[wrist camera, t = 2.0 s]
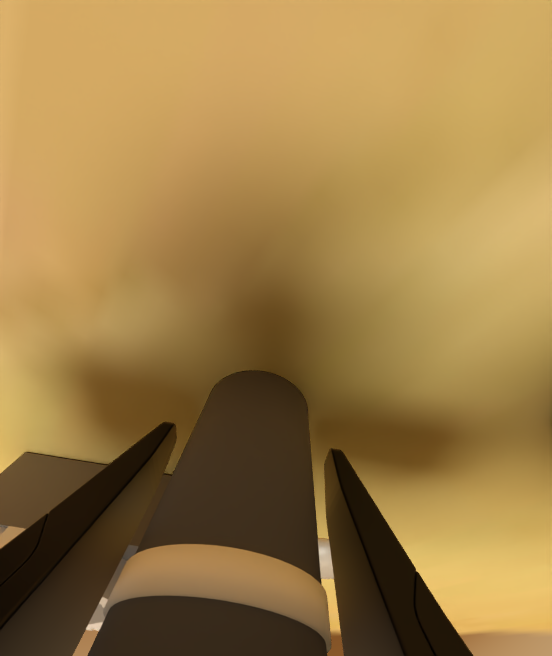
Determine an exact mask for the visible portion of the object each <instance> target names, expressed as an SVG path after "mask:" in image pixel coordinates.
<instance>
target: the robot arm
mask: <svg viewBox="0 0 552 656" xmlns="http://www.w3.org/2000/svg"><path fill="white" fill-rule="evenodd" d="M176 439H177V435H176V425H175V423H171V422H163V423H162V424H160V425H159V426H158V427H156V428H155V429H154V430H153V431H151V432H150V433H149V434H147V435H146V436H145V437H144V438H142V439H141V440H140V441H138V442H137V443H136V444H135V445H133V446H132V447H131V448H129V449H128V450H127V451H126V452H124V453H123V454H122V455H121V456H119V457H118V458H117V459H115V460H114V461H113V462H112V463H110V464H109V465H108V466H106V467H105V468H104V469H103V470H101V471H100V472H99V473H97V474H96V475H95V476H94V477H92V478H91V479H90V480H88V481H87V482H86V483H85V484H83V485H82V486H81V487H79V488H78V489H77V490H76V491H74V492H73V493H72V494H71V495H69V496H68V497H67V498H65V499H64V500H63V501H62V502H60V503H59V504H58V505H56V506H55V507H54V508H53V509H51V510H50V511H49V513H46V514H45V515H43V516H42V517H41V518H40V519H38V520H37V521H36V522H34V523H33V524H32V525H31V526H29V527H28V528H27V529H25V530H24V531H23V532H21V533H20V534H19V535H17V536H16V537H15V538H13V539H12V540H11V541H10V542H8V543H7V544H6V545H4V546H3V547H2V548H0V656H72V655H73V653H74V651H75V649H76V647H77V646H78V644H79V642H80V639H81V638H82V636H83V634H84V632H85V630H86V628H87V626H88V624H89V622H90V620H91V618H92V616H93V614H94V612H95V610H96V608H97V606H98V604H99V602H100V600H101V598H102V596H103V595H104V593H105V591H106V589H107V587H108V585H109V583H110V581H111V579H112V577H113V575H114V573H115V571H116V569H117V567H118V565H119V563H120V561H121V559H122V557H123V555H124V553H125V551H126V549H127V547H128V545H129V543H130V542H131V540H132V538H133V536H134V534H135V532H136V530H137V528H138V526H139V524H140V522H141V520H142V518H143V516H144V514H145V512H146V510H147V508H148V506H149V504H150V502H151V500H152V498H153V496H154V494H155V492H156V490H157V488H158V486H159V483H160V481H161V479H162V476H163V473H164V471H165V468H166V466H167V463H168V461H169V458H170V456H171V453H172V451H173V448H174V446H175V443H176ZM324 474H325V503H326V519H327V528H328V536H329V543H330V551H331V559H332V567H333V574H334V582H335V590H336V598H337V606H338V613H339V621H340V629H341V637H342V644H343V651H344V656H473V654H472V653H471V651H470V650H469V649H468V647H467V646H466V644H465V643H464V641H463V640H462V638H461V637H460V636H459V634H458V633H457V631H456V630H455V628H454V627H453V625H452V624H451V622H450V621H449V620H448V618H447V617H446V615H445V613H444V612H443V610H442V609H441V607H440V606H439V604H438V603H437V601H436V600H435V598H434V596H433V595H432V593H431V592H430V590H429V589H428V587H427V586H426V584H425V582H424V581H423V579H422V578H421V576H420V574H419V573H418V572H417V571H416V568H415V567H414V565H413V563H412V562H411V560H410V559H409V557H408V555H407V554H406V552H405V551H404V549H403V547H402V546H401V544H400V543H399V541H398V539H397V538H396V536H395V535H394V533H393V531H392V530H391V528H390V527H389V525H388V523H387V522H386V520H385V519H384V517H383V515H382V514H381V512H380V511H379V509H378V507H377V506H376V504H375V503H374V501H373V499H372V498H371V496H370V495H369V493H368V492H367V490H366V488H365V487H364V485H363V484H362V482H361V480H360V479H359V477H358V476H357V474H356V472H355V471H354V469H353V468H352V466H351V464H350V463H349V461H348V460H347V458H346V456H345V455H344V453H343V452H342V451H341V450H339V449H333V448H331V449H330V450H329V453H328V455H327V458H326V460H325V464H324Z"/></svg>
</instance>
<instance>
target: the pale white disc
mask: <svg viewBox="0 0 552 656" xmlns="http://www.w3.org/2000/svg"><path fill="white" fill-rule="evenodd" d="M318 548H319V560H320V573H321V579H334V574H333V567H332V559H331V551H330V543H329V539H325V538H318Z"/></svg>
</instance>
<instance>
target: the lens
mask: <svg viewBox="0 0 552 656" xmlns="http://www.w3.org/2000/svg"><path fill="white" fill-rule="evenodd" d="M103 615H104V617H105V619H104V622H103V624H102V626H101V628H100V630H99V632H98V634H97V636H96V639H95V641H94V643H93V645H92V647H91V650H90V651H89V653H88V656H327V653H328V652H329V650H330V649H331V634H330V623H329V613H328V602H327V595H326V591H325V590H324V588H323V586H322V585H321V573H320V560H319V548H318V535H317V522H316V510H315V497H314V485H313V472H312V459H311V447H310V434H309V422H308V409H307V404H306V401H305V398H304V397H303V395H302V393H301V392H300V391H299V389H298V388H297V387H296V386H295V385H293V384H292V383H291V382H289V381H288V380H286V379H284V378H282V377H280V376H278V375H275V374H272V373H268V372H264V371H242V372H238V373H234V374H231V375H229V376H227V377H225V378H223V379H222V380H221V381H219V382H218V383H217V384H216V385H215V387H214V388H213V389H212V391H211V393H210V395H209V398H208V400H207V402H206V404H205V406H204V408H203V410H202V413H201V415H200V417H199V419H198V421H197V423H196V425H195V427H194V430H193V432H192V434H191V436H190V438H189V440H188V442H187V444H186V447H185V449H184V451H183V453H182V455H181V457H180V459H179V462H178V464H177V466H176V468H175V470H174V472H173V474H172V476H171V479H170V481H169V483H168V485H167V487H166V489H165V491H164V494H163V496H162V498H161V500H160V502H159V504H158V506H157V508H156V511H155V513H154V515H153V517H152V519H151V521H150V523H149V526H148V528H147V530H146V532H145V534H144V536H143V538H142V540H141V543H140V545H139V547H138V549H137V551H136V553H135V555H133V556H132V557H131V558H130V559H128V560H127V562H126V564H125V566H124V568H123V570H122V572H121V574H120V576H119V578H118V580H117V582H116V584H115V586H114V588H113V591H112V593H111V595H110V597H109V599H108V601H107V603H106V605H105V607H104V609H103Z"/></svg>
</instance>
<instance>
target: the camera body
mask: <svg viewBox="0 0 552 656" xmlns="http://www.w3.org/2000/svg"><path fill="white" fill-rule="evenodd" d="M106 466H108V465H102V464H96V463H90V462H83V461H77V460H71V459H64V458H58V457H52V456H46V455H39V454H33V453H27V452H25V453H24V454H23V455H21V456H20V457H19V458H18V459H17V460H16V461H15V462H13V463H12V464H11V465H10V466H9V467H8V468H6V469H5V470H4V471H3V472H2V473H1V474H0V548H2V547H3V546H4V545H6V544H7V543H8V542H10V541H11V540H12V539H13V538H15V537H16V536H17V535H19V534H20V533H21V532H23V531H24V530H25V529H27V528H28V527H29V526H31V525H32V524H33V523H34V522H36V521H37V520H38V519H40V518H41V517H42V516H43V515H45V514H46V513H49V511H50V510H51V509H53V508H54V507H55V506H56V505H58V504H59V503H60V502H62V501H63V500H64V499H65V498H67V497H68V496H69V495H71V494H72V493H73V492H74V491H76V490H77V489H78V488H79V487H81V486H82V485H83V484H85V483H86V482H87V481H88V480H90V479H91V478H92V477H94V476H95V475H96V474H97V473H99V472H100V471H101V470H103V469H104V468H105V467H106ZM170 479H171V475H165V474H163V476H162V479H161V481H160V483H159V486H158V488H157V490H156V492H155V494H154V496H153V498H152V500H151V502H150V504H149V506H148V508H147V510H146V512H145V514H144V516H143V518H142V520H141V522H140V524H139V526H138V528H137V530H136V532H135V534H134V536H133V538H132V540H131V542H130V543H129V545H128V547H127V549H126V551H125V553H124V555H123V557H122V559H121V561H120V563H119V565H118V567H117V569H116V571H115V573H114V575H113V577H112V579H111V581H110V583H109V585H108V587H107V589H106V591H105V593H104V595H103V596H102V598H101V600H100V602H99V604H98V606H97V608H96V610H95V612H94V614H93V616H92V618H91V620H90V622H89V624H88V626H87V628H86V630H92V631H93V630H97V631H99V630H100V628H101V626H102V624H103V622H104V619H105V617H104V615H103V609H104V607H105V605H106V603H107V601H108V599H109V597H110V595H111V593H112V591H113V588H114V586H115V584H116V582H117V580H118V578H119V576H120V574H121V572H122V570H123V568H124V566H125V564H126V562H127V560H128V559H130V558H131V557H132V556H133V555H135V553H136V551H137V549H138V547H139V545H140V543H141V540H142V538H143V536H144V534H145V532H146V530H147V528H148V526H149V523H150V521H151V519H152V517H153V515H154V513H155V511H156V508H157V506H158V504H159V502H160V500H161V498H162V496H163V494H164V491H165V489H166V487H167V485H168V483H169V481H170Z"/></svg>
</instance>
